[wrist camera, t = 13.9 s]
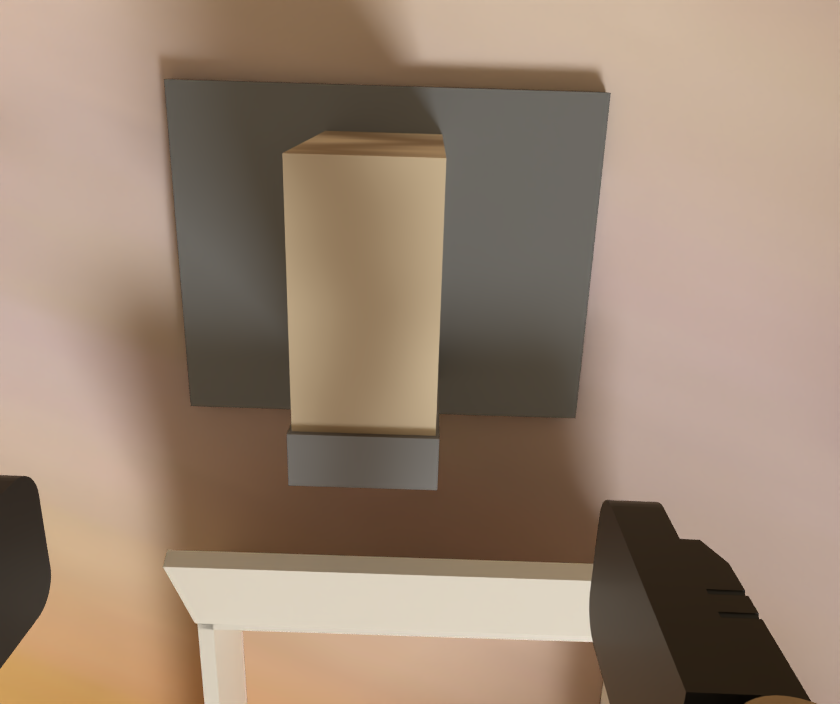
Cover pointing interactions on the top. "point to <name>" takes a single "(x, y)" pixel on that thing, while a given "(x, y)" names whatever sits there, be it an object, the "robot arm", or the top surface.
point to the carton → (369, 602)
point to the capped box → (364, 308)
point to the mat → (462, 239)
